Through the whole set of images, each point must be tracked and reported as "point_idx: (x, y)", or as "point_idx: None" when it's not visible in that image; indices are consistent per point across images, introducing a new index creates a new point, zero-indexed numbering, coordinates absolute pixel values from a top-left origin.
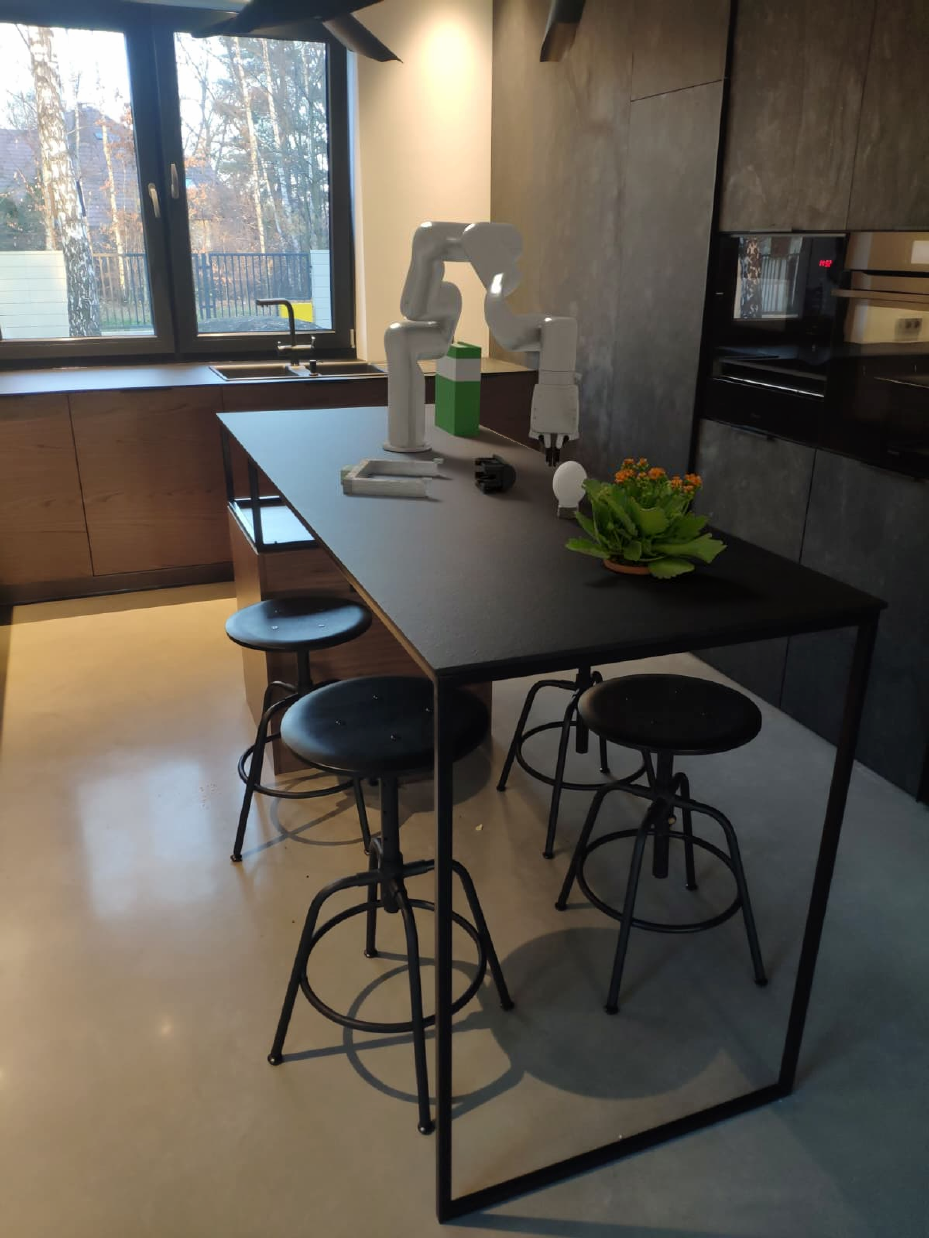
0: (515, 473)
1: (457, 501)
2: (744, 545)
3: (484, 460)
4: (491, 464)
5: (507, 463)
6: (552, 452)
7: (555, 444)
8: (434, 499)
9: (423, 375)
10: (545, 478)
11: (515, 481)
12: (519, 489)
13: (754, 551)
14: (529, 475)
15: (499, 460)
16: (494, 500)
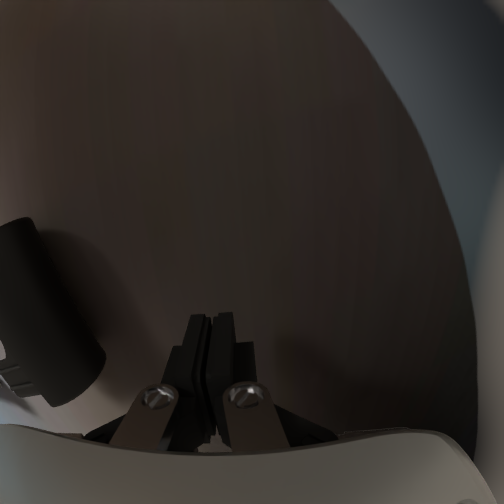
0: (94, 379)
1: (51, 409)
2: (474, 440)
3: None
4: (22, 388)
5: (55, 394)
6: (215, 422)
7: (228, 446)
8: (18, 396)
9: None
10: (177, 65)
11: (105, 361)
12: (112, 279)
13: (470, 449)
14: (116, 46)
15: (15, 358)
16: (103, 401)
